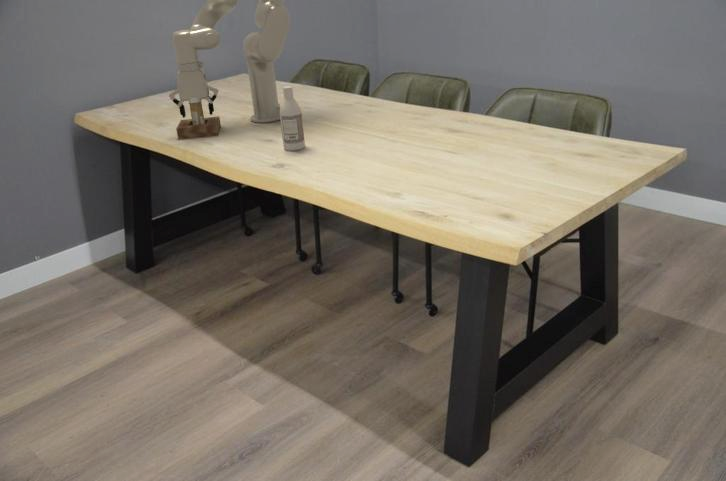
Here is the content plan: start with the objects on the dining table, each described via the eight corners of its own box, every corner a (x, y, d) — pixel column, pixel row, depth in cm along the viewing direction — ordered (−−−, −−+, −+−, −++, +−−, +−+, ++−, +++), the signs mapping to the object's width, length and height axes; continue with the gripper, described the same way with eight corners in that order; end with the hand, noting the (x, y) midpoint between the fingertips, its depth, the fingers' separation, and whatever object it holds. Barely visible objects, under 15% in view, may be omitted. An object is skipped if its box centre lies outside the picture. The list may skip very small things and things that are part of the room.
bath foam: (307, 149, 233) (301, 87, 225) (287, 152, 231) (279, 90, 223) (301, 143, 239) (295, 83, 231) (281, 147, 237) (274, 86, 229)
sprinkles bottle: (208, 133, 260) (202, 96, 254) (196, 135, 258) (190, 98, 252) (204, 130, 264) (197, 94, 258) (192, 133, 261) (185, 96, 256)
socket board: (220, 127, 267) (219, 116, 265) (218, 135, 256) (216, 124, 254) (182, 130, 266) (180, 120, 264) (178, 139, 255) (176, 128, 253)
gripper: (215, 62, 255) (222, 110, 262) (165, 67, 254) (175, 115, 261) (213, 66, 248) (221, 115, 255) (162, 71, 247) (172, 120, 254)
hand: (197, 115), depth 258 cm, fingers open, 9 cm apart
